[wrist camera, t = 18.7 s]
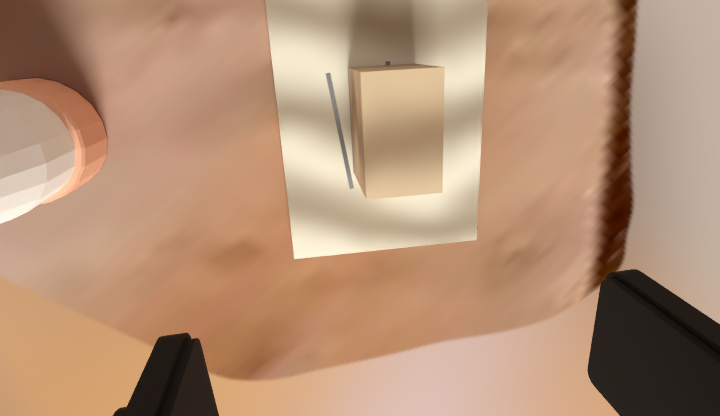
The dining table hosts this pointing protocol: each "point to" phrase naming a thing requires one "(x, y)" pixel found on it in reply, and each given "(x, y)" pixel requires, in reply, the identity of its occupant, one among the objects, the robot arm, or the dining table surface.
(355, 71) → the block
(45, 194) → the pepper shaker
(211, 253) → the dining table surface
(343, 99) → the board
